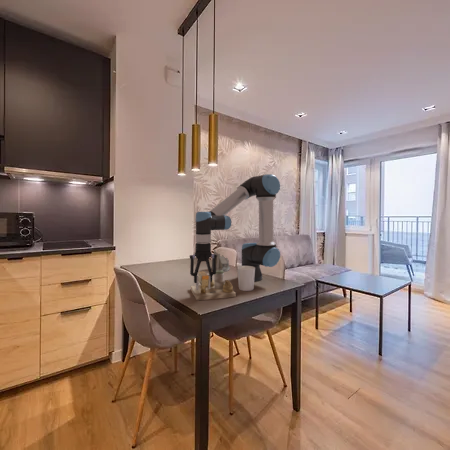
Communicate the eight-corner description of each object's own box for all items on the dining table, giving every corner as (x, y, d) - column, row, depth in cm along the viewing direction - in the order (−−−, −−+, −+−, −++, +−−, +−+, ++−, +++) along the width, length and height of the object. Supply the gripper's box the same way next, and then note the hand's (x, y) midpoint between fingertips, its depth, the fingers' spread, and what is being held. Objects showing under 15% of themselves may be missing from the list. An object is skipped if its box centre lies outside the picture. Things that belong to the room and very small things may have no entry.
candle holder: (248, 292, 135) (248, 270, 134) (233, 289, 141) (233, 267, 140) (258, 288, 142) (258, 267, 141) (244, 285, 148) (244, 264, 148)
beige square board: (225, 286, 145) (225, 267, 145) (235, 296, 128) (236, 274, 128) (190, 289, 139) (190, 269, 139) (196, 300, 122) (196, 277, 122)
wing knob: (204, 289, 132) (204, 271, 131) (208, 295, 122) (208, 275, 122) (198, 290, 131) (198, 271, 130) (202, 296, 122) (202, 276, 121)
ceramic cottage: (217, 272, 179) (218, 251, 179) (207, 268, 193) (208, 249, 193) (236, 271, 187) (237, 251, 187) (225, 267, 201) (226, 249, 201)
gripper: (218, 241, 132) (218, 285, 133) (183, 242, 127) (183, 288, 128) (223, 242, 125) (222, 289, 126) (185, 244, 120) (185, 292, 121)
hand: (203, 288), depth 127 cm, fingers open, 5 cm apart
